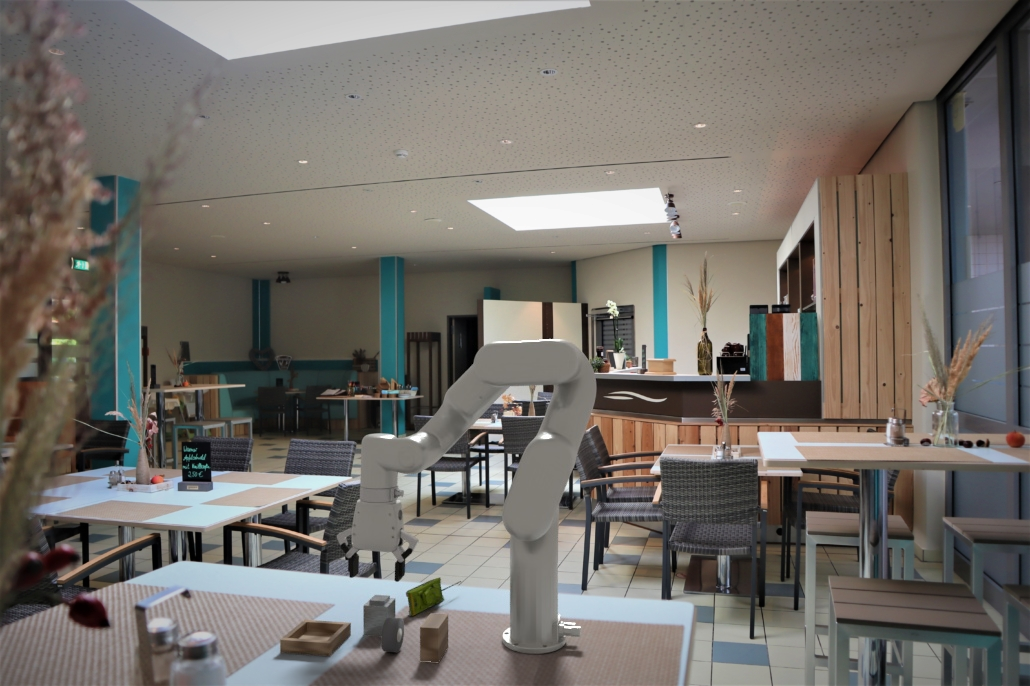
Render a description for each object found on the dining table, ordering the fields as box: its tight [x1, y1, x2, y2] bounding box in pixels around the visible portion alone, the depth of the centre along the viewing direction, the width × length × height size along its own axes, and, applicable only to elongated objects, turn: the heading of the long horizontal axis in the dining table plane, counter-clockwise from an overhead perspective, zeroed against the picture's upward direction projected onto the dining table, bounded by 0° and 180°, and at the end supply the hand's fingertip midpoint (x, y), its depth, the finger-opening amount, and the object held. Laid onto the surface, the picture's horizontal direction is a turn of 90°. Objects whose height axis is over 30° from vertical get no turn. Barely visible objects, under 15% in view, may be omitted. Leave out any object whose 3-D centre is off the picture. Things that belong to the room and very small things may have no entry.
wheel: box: [380, 617, 405, 653], centre depth 133 cm, size 3×6×6 cm, turn 171°
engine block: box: [362, 594, 396, 637], centre depth 143 cm, size 5×5×7 cm
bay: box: [279, 619, 352, 657], centre depth 137 cm, size 10×10×2 cm
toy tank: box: [405, 577, 462, 617], centre depth 158 cm, size 7×19×10 cm
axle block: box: [419, 612, 449, 663], centre depth 132 cm, size 4×7×6 cm, turn 171°
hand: (376, 577), depth 143 cm, fingers open, 9 cm apart
